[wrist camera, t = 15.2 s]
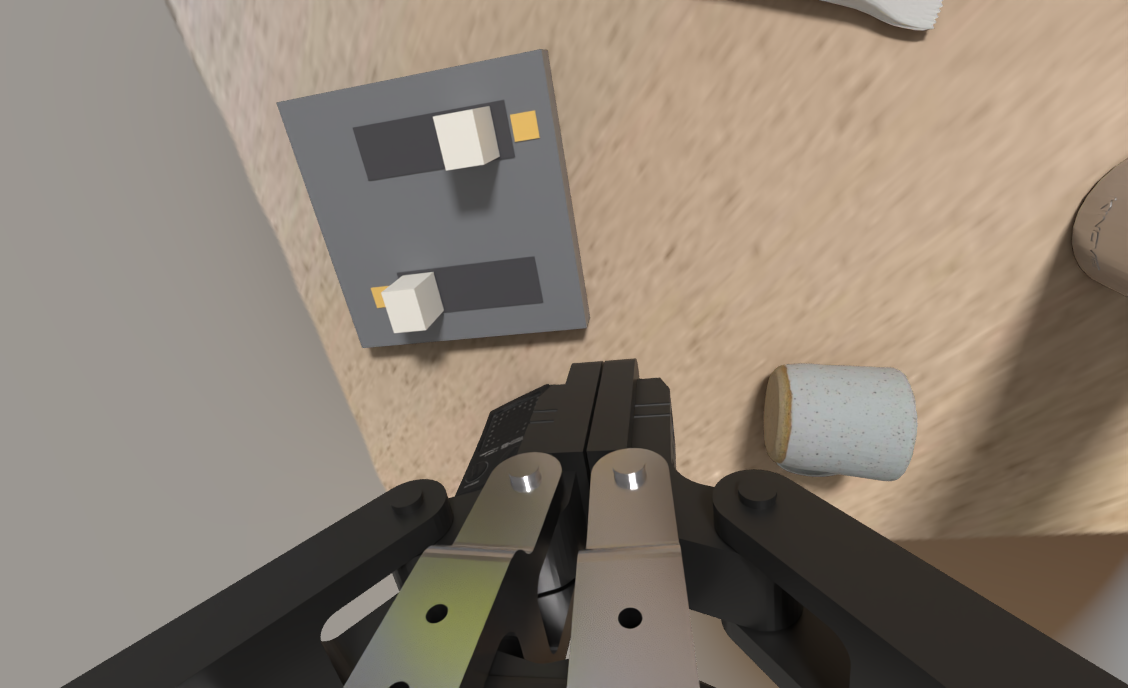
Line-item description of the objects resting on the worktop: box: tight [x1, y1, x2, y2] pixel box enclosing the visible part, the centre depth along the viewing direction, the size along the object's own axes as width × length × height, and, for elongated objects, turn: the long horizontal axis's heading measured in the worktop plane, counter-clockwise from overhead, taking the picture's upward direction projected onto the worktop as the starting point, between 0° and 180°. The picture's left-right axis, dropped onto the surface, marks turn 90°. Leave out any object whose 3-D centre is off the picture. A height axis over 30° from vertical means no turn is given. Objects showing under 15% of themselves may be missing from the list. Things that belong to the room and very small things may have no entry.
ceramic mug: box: [764, 363, 917, 481], centre depth 39 cm, size 11×8×8 cm
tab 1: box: [381, 272, 444, 333], centre depth 39 cm, size 2×3×4 cm
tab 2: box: [433, 106, 500, 171], centre depth 34 cm, size 2×3×4 cm
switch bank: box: [277, 49, 590, 348], centre depth 39 cm, size 18×18×2 cm
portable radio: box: [455, 384, 551, 497], centre depth 35 cm, size 8×6×25 cm
